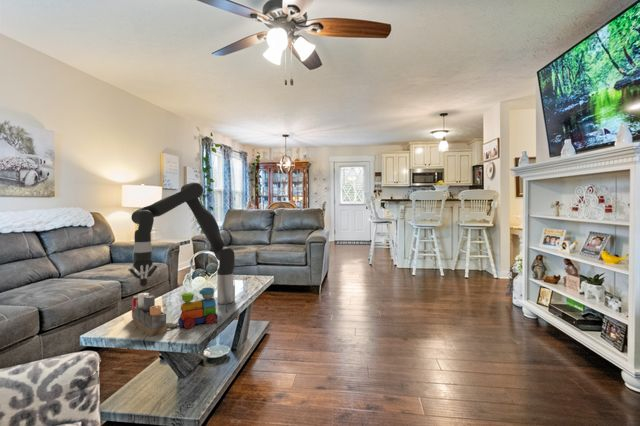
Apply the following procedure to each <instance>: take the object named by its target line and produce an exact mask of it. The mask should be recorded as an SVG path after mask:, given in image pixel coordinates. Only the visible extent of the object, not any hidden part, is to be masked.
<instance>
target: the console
mask: <svg viewBox="0 0 640 426" xmlns="http://www.w3.org/2000/svg"><path fill="white" fill-rule="evenodd" d="M166 323H167V313H166V312H164V311H162V310H161V315H157V316H153V317H151V316H150V312H147V313H146V312H144V309H138V306H137V307H134V320H133V325H134V326H135V327H136V328H138V329H140V330H141V331H142V332H144V333H145V334H147V335H148V337H149V336H150V337H155V336H158V335H161V334H165V333H167V332H168V331H167V330H168V327H167V325H166Z"/></svg>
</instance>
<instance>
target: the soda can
mask: <svg viewBox="0 0 640 426" xmlns="http://www.w3.org/2000/svg"><path fill="white" fill-rule="evenodd" d="M137 306H138V294H135V295H133V296H132V299H131V318H132V320H133V321H134V307H137Z"/></svg>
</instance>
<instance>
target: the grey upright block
mask: <svg viewBox="0 0 640 426" xmlns="http://www.w3.org/2000/svg"><path fill="white" fill-rule="evenodd" d="M155 296H156V295H149V296H146V297H144V312H146V313H147V312H150V307H152V306H156V304H155V302H156V299H155V298H156V297H155Z"/></svg>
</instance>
